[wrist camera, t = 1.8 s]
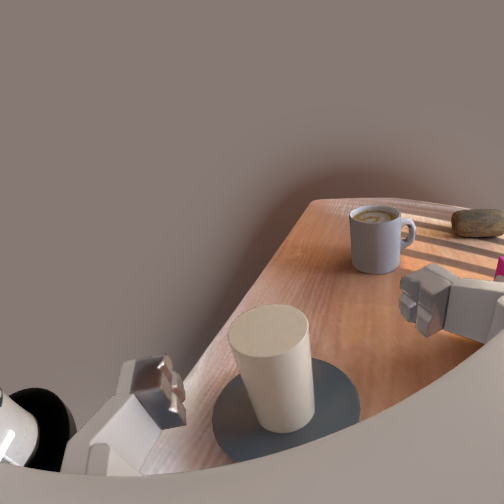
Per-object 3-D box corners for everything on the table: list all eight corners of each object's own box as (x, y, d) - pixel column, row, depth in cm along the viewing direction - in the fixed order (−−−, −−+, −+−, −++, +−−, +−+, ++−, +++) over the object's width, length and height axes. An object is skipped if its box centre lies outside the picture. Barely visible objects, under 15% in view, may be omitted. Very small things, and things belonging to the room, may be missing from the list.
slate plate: (280, 508, 18) (278, 504, 17) (192, 415, 30) (186, 407, 29) (387, 404, 26) (389, 395, 25) (289, 348, 38) (287, 338, 37)
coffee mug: (351, 274, 51) (349, 224, 47) (351, 250, 59) (349, 205, 55) (420, 272, 46) (423, 221, 42) (411, 248, 54) (412, 203, 50)
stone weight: (495, 229, 52) (498, 204, 49) (506, 241, 46) (510, 214, 43) (448, 230, 57) (449, 204, 55) (456, 242, 52) (459, 214, 49)
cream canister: (283, 444, 23) (262, 371, 18) (243, 409, 28) (212, 331, 23) (327, 405, 26) (325, 321, 21) (286, 377, 31) (270, 295, 26)
